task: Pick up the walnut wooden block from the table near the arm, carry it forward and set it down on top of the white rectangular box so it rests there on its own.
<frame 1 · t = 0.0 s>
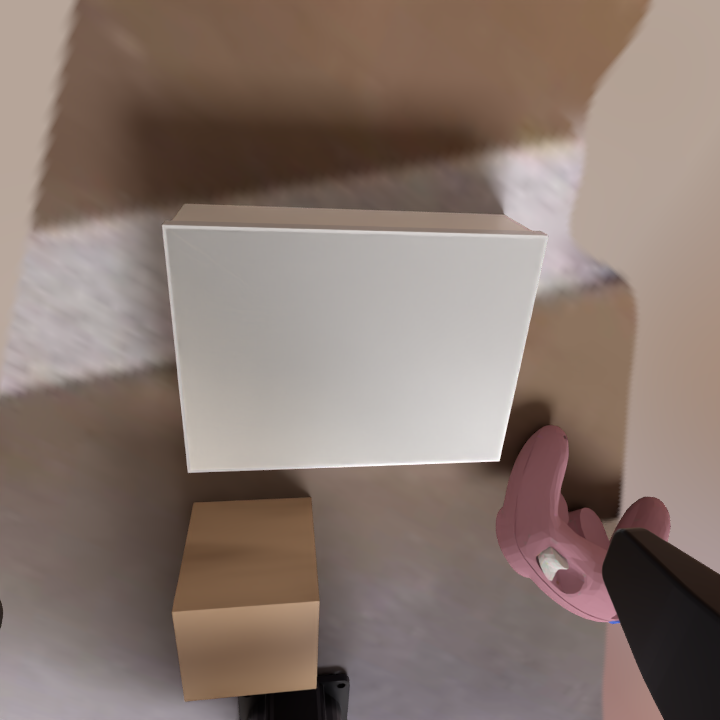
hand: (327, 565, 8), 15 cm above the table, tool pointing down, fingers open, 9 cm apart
walnut block: (255, 541, 27), on the table
white rectangular box: (344, 317, 22), on the table
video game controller: (561, 492, 29), on the table
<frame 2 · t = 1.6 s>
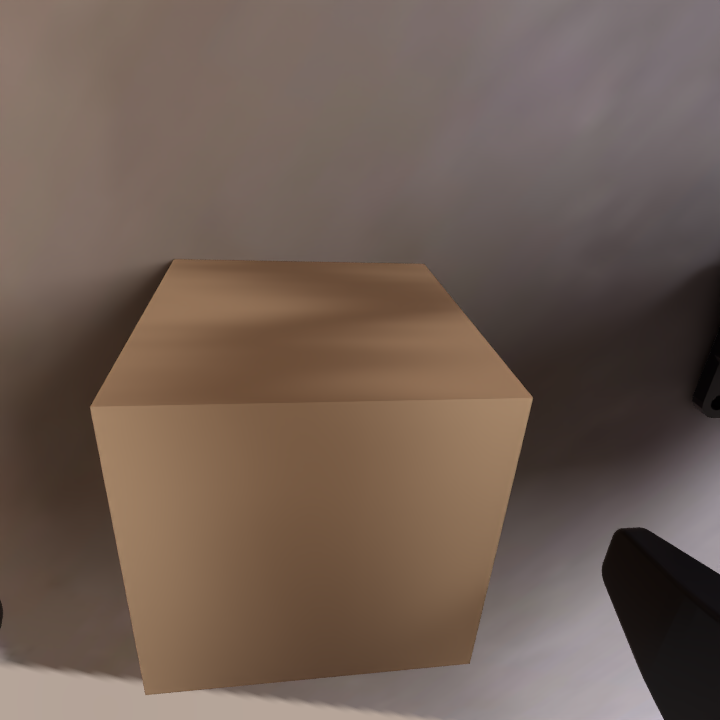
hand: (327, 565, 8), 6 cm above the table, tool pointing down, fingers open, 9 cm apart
walnut block: (301, 370, 13), on the table
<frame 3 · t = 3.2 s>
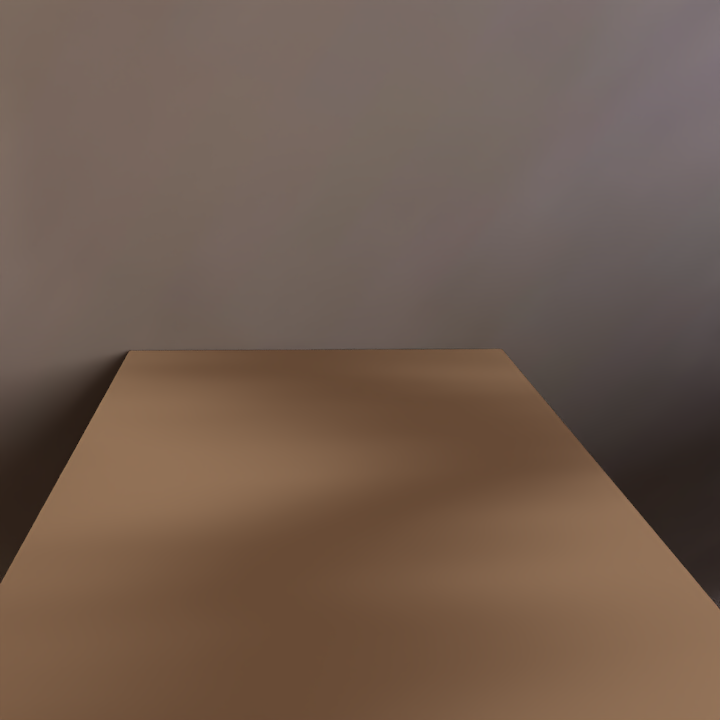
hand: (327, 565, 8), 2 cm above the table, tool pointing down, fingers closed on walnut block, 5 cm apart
walnut block: (320, 494, 9), on the table, touching gripper
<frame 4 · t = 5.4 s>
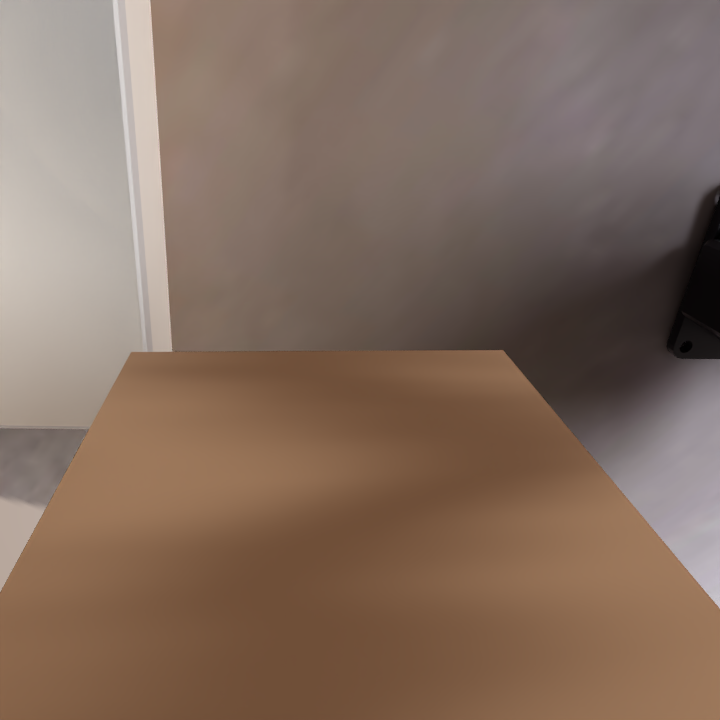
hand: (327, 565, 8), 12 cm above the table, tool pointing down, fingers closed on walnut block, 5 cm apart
walnut block: (321, 495, 9), point 10 cm above the table, touching gripper
white rectangular box: (5, 178, 16), on the table
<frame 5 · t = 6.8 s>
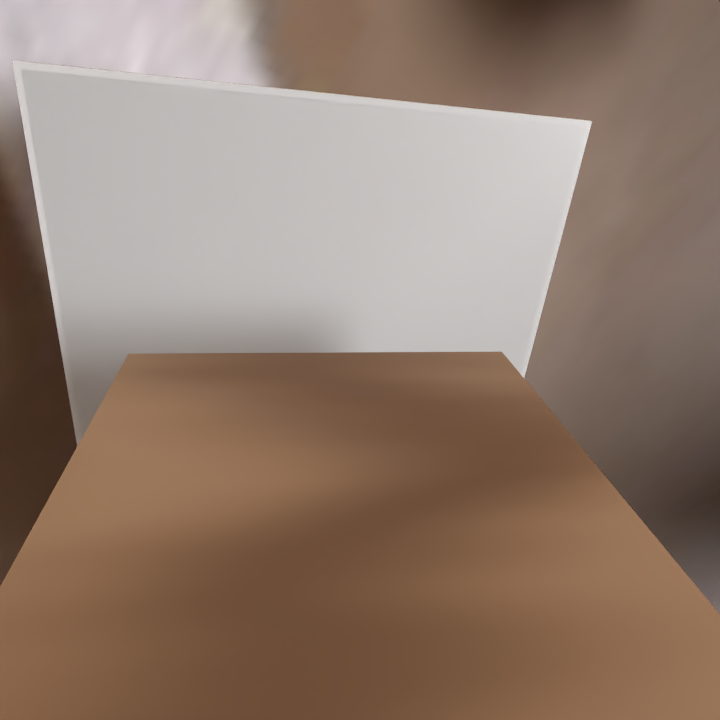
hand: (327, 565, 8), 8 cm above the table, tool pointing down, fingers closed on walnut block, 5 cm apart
walnut block: (319, 497, 9), point 6 cm above the table, touching gripper
white rectangular box: (300, 336, 15), on the table
when the fingers open (7 cm above the table, at t = 7.7 s): walnut block drops 2 cm, point 4 cm above the table.
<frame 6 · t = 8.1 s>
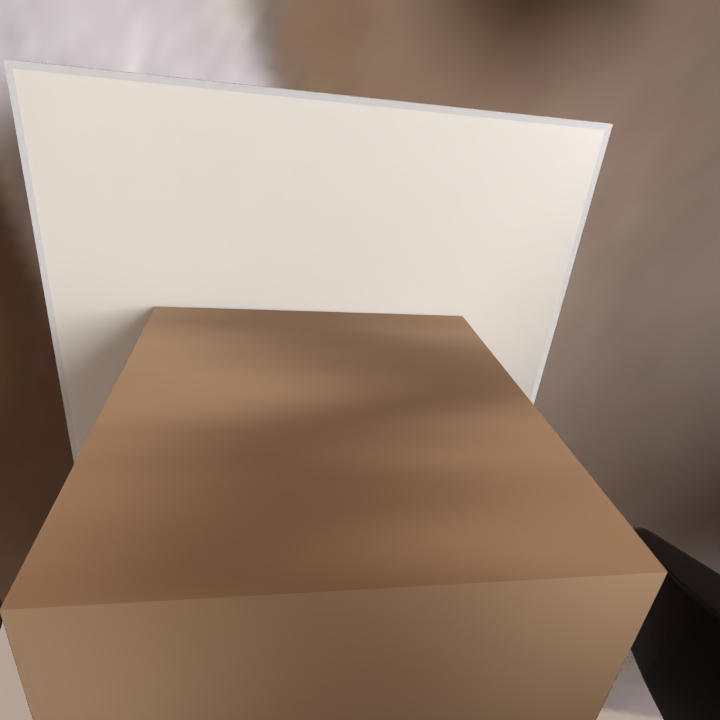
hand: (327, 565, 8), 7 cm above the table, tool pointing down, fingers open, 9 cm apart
walnut block: (308, 437, 11), point 4 cm above the table
white rectangular box: (304, 344, 14), on the table
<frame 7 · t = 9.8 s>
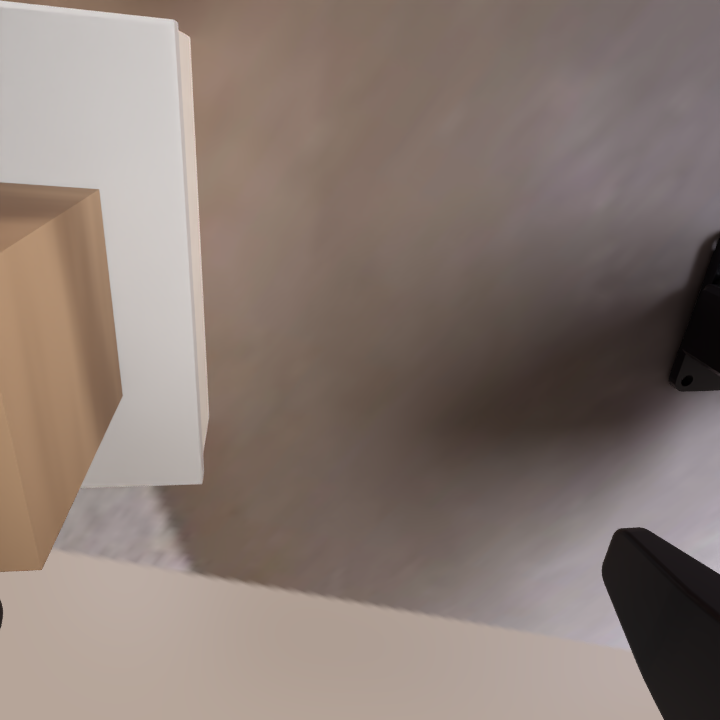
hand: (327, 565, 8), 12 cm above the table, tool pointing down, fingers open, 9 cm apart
white rectangular box: (50, 248, 17), on the table, touching walnut block
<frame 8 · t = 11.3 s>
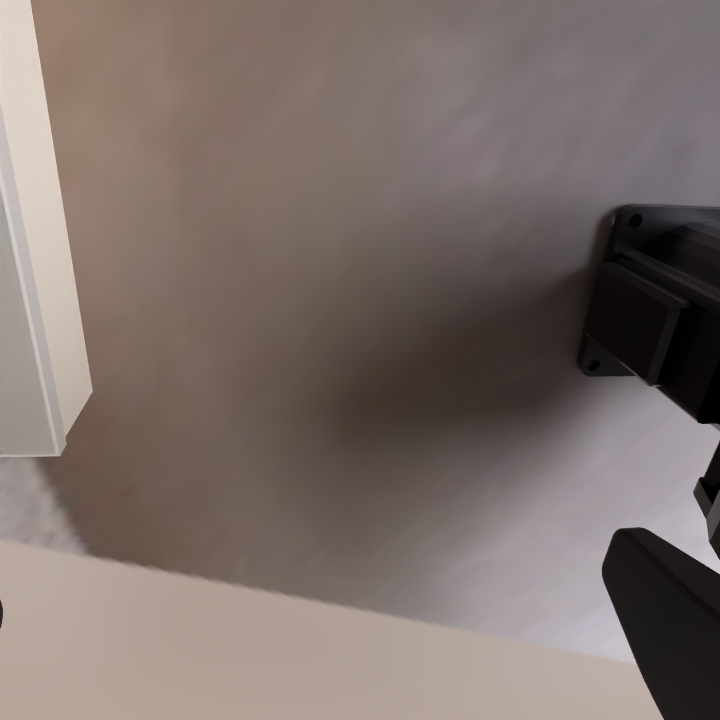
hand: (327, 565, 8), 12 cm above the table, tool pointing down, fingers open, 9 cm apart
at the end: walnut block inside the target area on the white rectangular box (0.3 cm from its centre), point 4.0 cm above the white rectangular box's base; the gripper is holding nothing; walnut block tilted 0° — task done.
